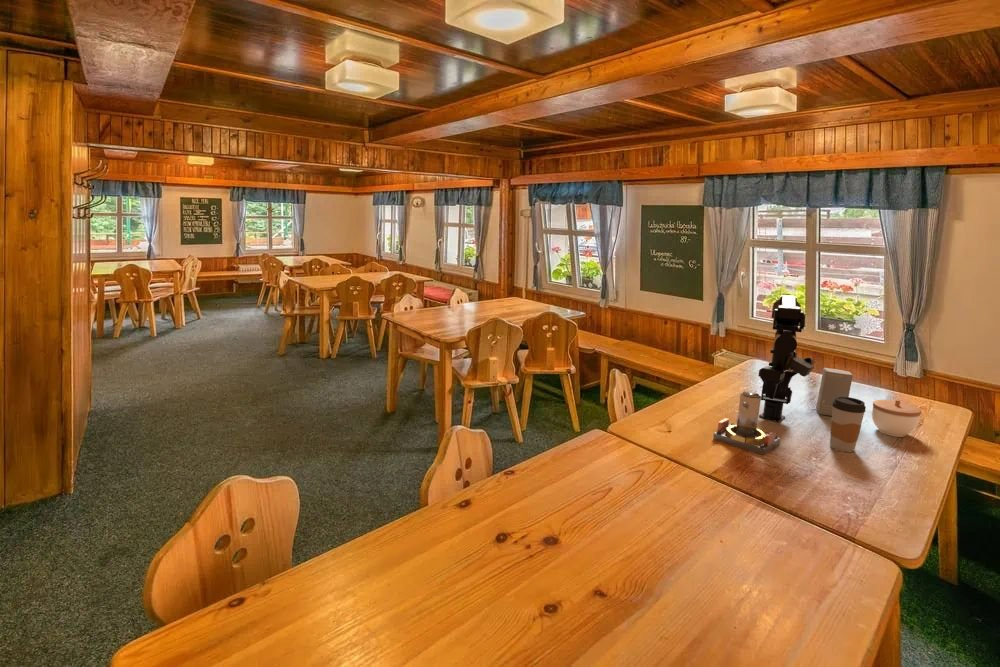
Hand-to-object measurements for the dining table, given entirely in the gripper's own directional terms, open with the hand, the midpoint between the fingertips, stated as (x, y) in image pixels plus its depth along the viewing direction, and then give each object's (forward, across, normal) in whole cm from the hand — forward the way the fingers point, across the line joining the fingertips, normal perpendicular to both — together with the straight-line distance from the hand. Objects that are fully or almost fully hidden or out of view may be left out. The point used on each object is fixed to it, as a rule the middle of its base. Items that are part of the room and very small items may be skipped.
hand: (777, 395), depth 167 cm
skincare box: (+13, +37, -6) cm, 40 cm away
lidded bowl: (+13, +33, -25) cm, 44 cm away
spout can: (+11, -14, +3) cm, 18 cm away
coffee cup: (+13, +6, -18) cm, 23 cm away
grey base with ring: (+13, -12, +3) cm, 18 cm away
